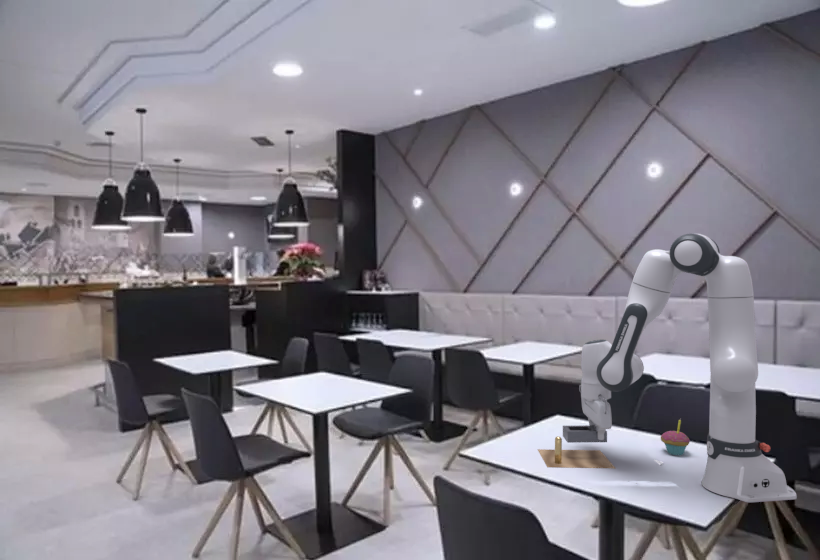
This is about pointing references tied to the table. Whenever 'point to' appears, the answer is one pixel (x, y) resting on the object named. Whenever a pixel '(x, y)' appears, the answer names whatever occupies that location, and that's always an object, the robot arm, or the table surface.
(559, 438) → the post
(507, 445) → the table surface
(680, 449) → the cupcake
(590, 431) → the steel link
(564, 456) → the oak board
